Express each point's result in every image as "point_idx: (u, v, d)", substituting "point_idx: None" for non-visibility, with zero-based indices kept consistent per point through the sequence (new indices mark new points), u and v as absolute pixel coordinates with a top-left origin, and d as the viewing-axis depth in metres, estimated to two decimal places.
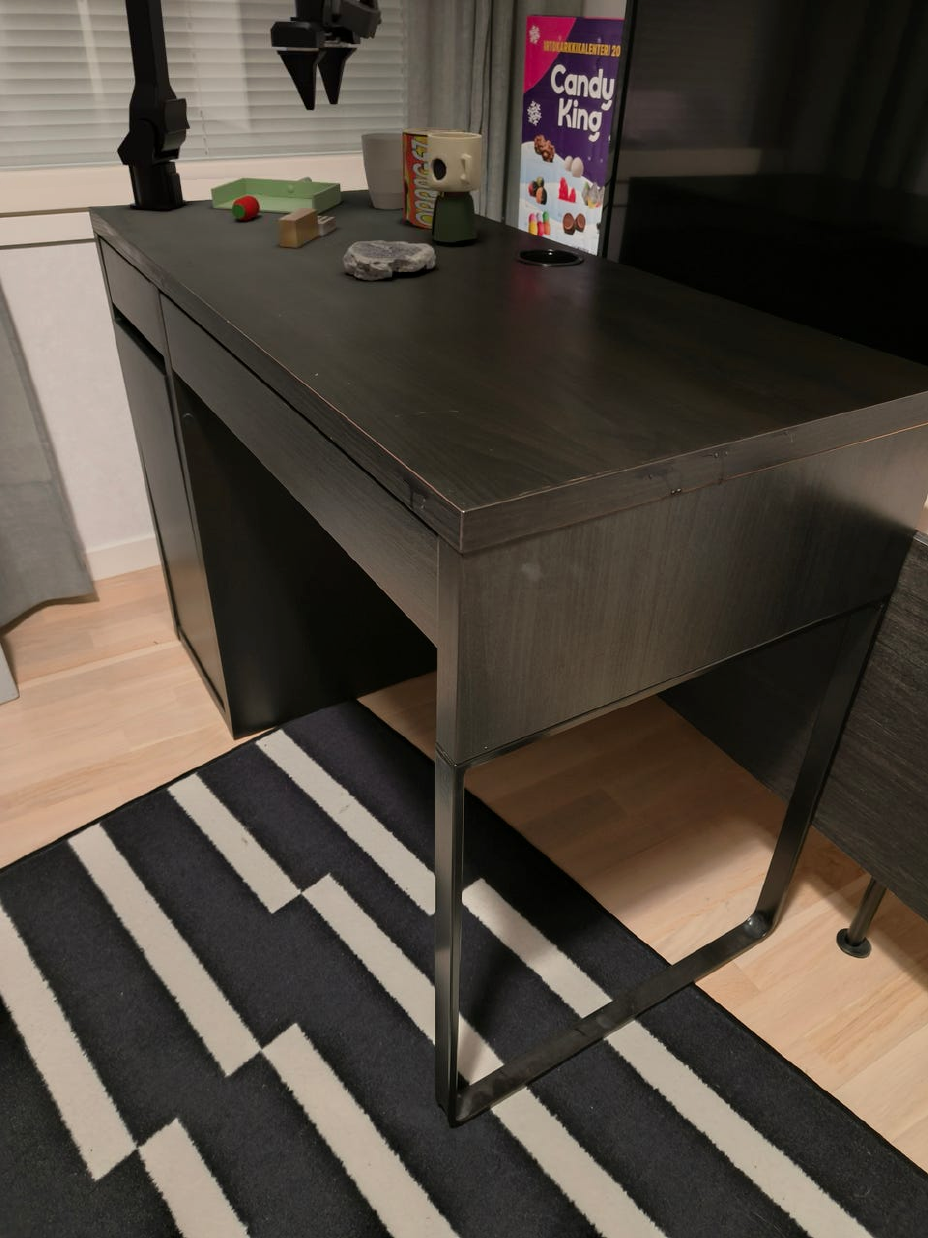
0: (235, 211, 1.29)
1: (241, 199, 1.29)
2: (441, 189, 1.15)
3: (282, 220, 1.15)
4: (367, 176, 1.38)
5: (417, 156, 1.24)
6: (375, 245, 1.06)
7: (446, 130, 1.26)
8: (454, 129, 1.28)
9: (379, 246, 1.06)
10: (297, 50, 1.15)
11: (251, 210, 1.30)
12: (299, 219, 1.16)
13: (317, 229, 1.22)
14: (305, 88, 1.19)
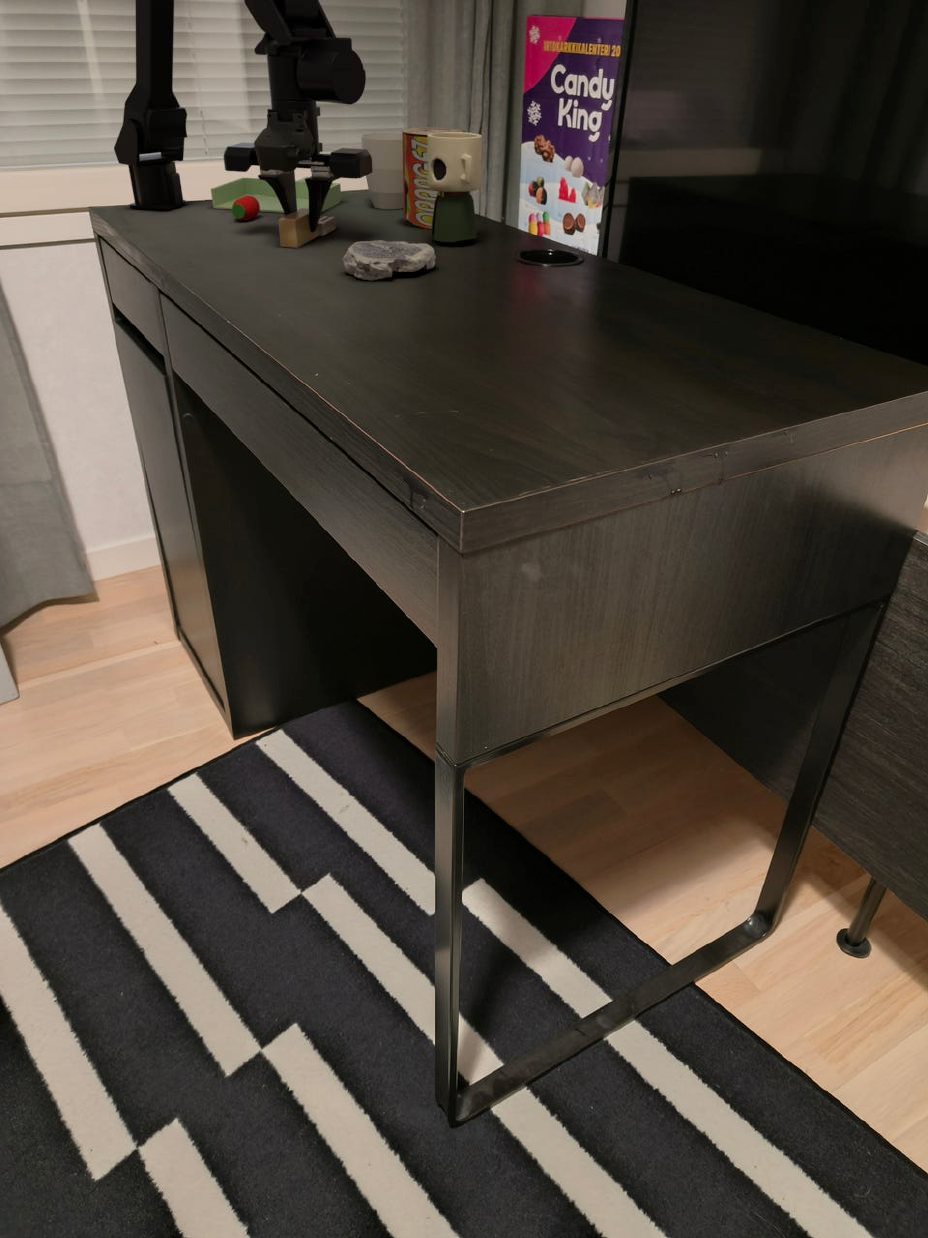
0: (235, 211, 1.29)
1: (241, 199, 1.29)
2: (441, 189, 1.15)
3: (282, 220, 1.15)
4: (367, 176, 1.38)
5: (417, 156, 1.24)
6: (375, 245, 1.06)
7: (446, 130, 1.26)
8: (454, 129, 1.28)
9: (379, 246, 1.06)
10: None
11: (251, 210, 1.30)
12: (299, 219, 1.16)
13: (317, 229, 1.22)
14: None
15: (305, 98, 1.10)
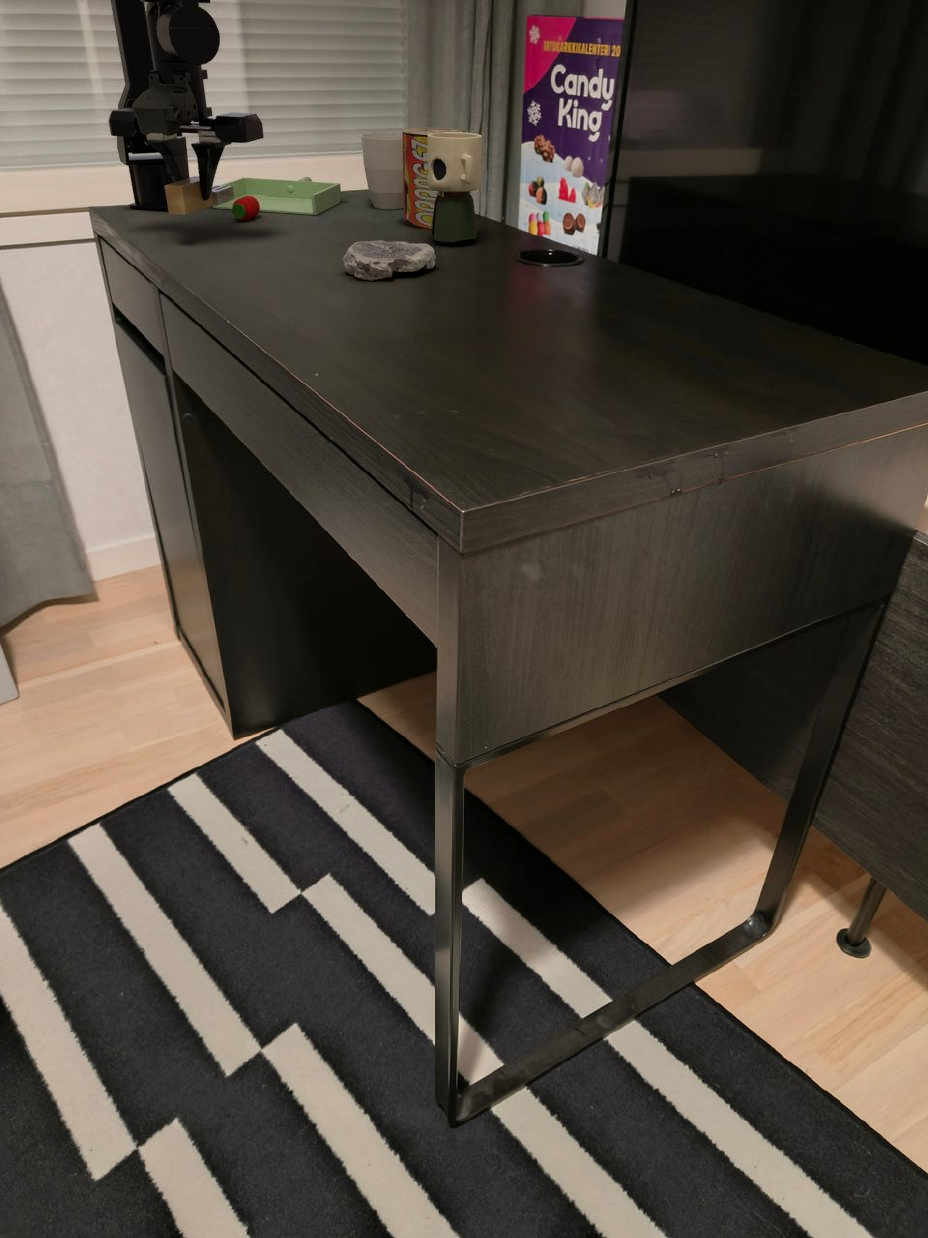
0: (235, 211, 1.29)
1: (241, 199, 1.29)
2: (441, 189, 1.15)
3: (169, 186, 1.12)
4: (367, 176, 1.38)
5: (417, 156, 1.24)
6: (375, 245, 1.06)
7: (446, 130, 1.26)
8: (454, 129, 1.28)
9: (379, 246, 1.06)
10: None
11: (251, 210, 1.30)
12: (187, 186, 1.13)
13: (211, 198, 1.19)
14: None
15: (178, 59, 1.06)
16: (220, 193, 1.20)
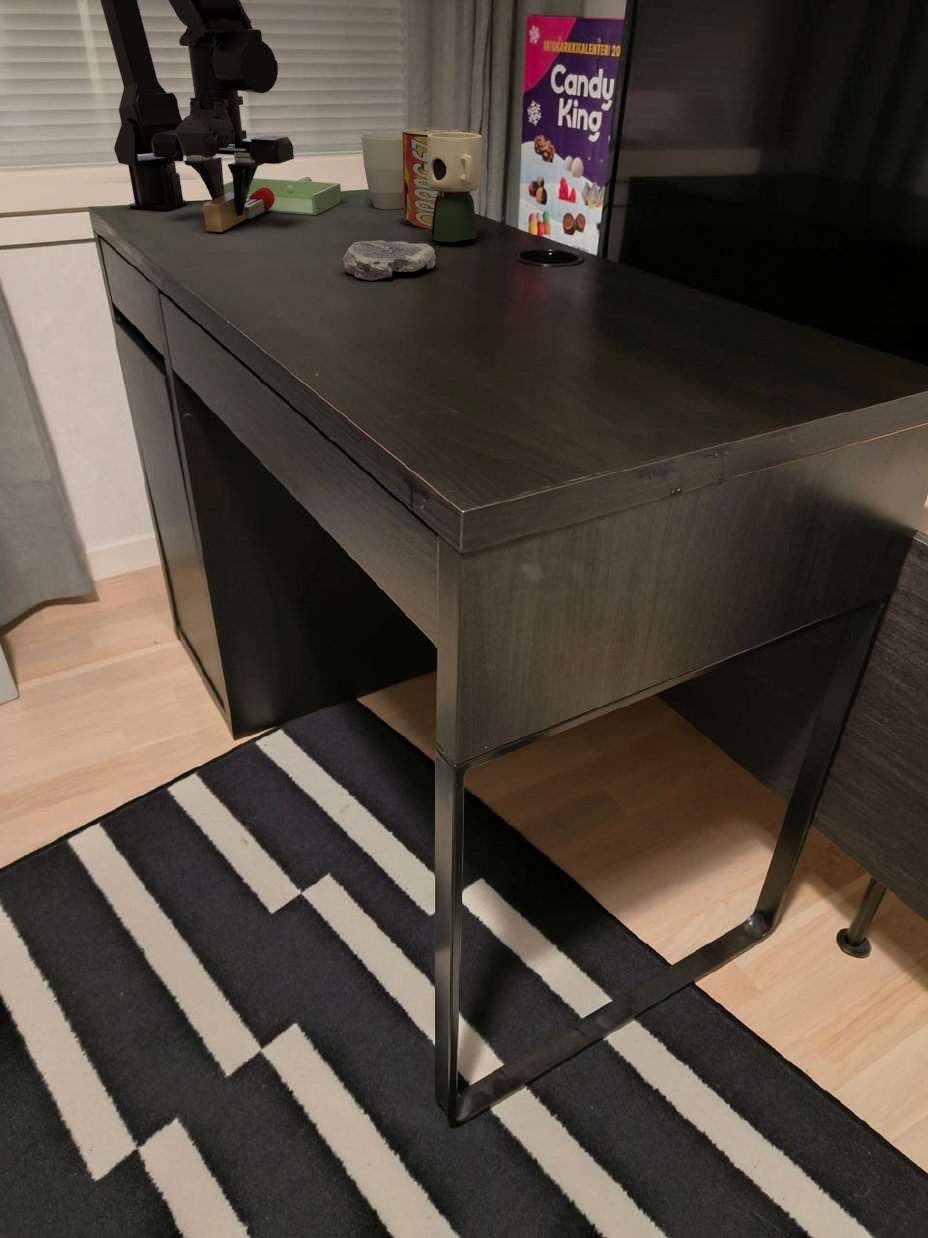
0: None
1: (256, 194, 1.33)
2: (441, 189, 1.15)
3: (206, 205, 1.21)
4: (367, 176, 1.38)
5: (417, 156, 1.24)
6: (375, 245, 1.06)
7: (446, 130, 1.26)
8: (454, 129, 1.28)
9: (379, 246, 1.06)
10: None
11: (267, 204, 1.34)
12: (223, 204, 1.22)
13: (244, 212, 1.28)
14: None
15: (224, 87, 1.16)
16: (252, 208, 1.29)
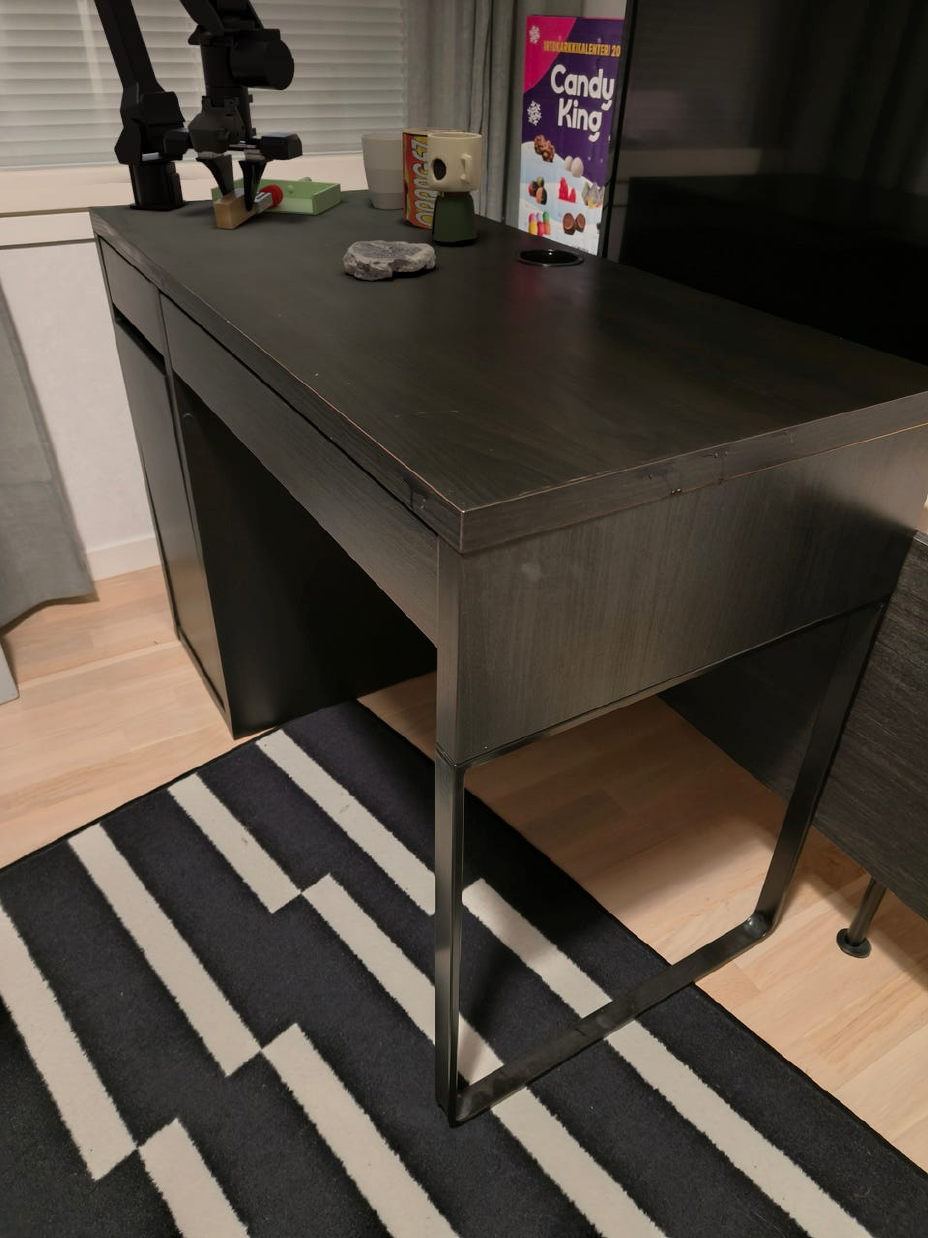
0: None
1: (266, 188, 1.35)
2: (441, 189, 1.15)
3: (217, 203, 1.24)
4: (367, 176, 1.38)
5: (417, 156, 1.24)
6: (375, 245, 1.06)
7: (446, 130, 1.26)
8: (454, 129, 1.28)
9: (379, 246, 1.06)
10: None
11: (275, 198, 1.36)
12: (233, 202, 1.25)
13: (253, 207, 1.31)
14: None
15: (238, 85, 1.19)
16: (261, 202, 1.32)
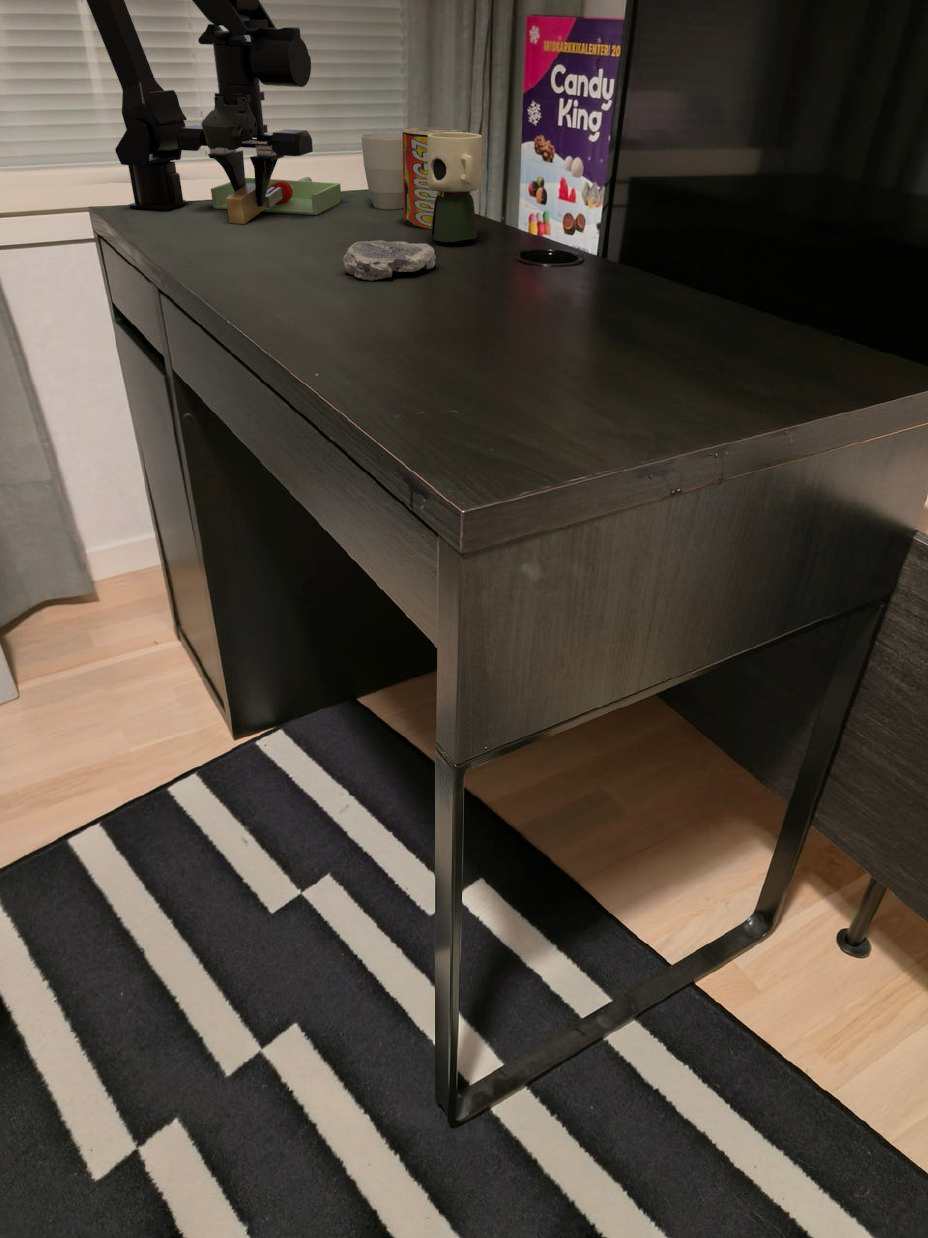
0: None
1: (276, 184, 1.38)
2: (441, 189, 1.15)
3: (229, 199, 1.27)
4: (367, 176, 1.38)
5: (417, 156, 1.24)
6: (375, 245, 1.06)
7: (446, 130, 1.26)
8: (454, 129, 1.28)
9: (379, 246, 1.06)
10: None
11: (285, 194, 1.39)
12: (245, 197, 1.28)
13: (264, 202, 1.34)
14: None
15: (253, 83, 1.22)
16: (271, 197, 1.34)
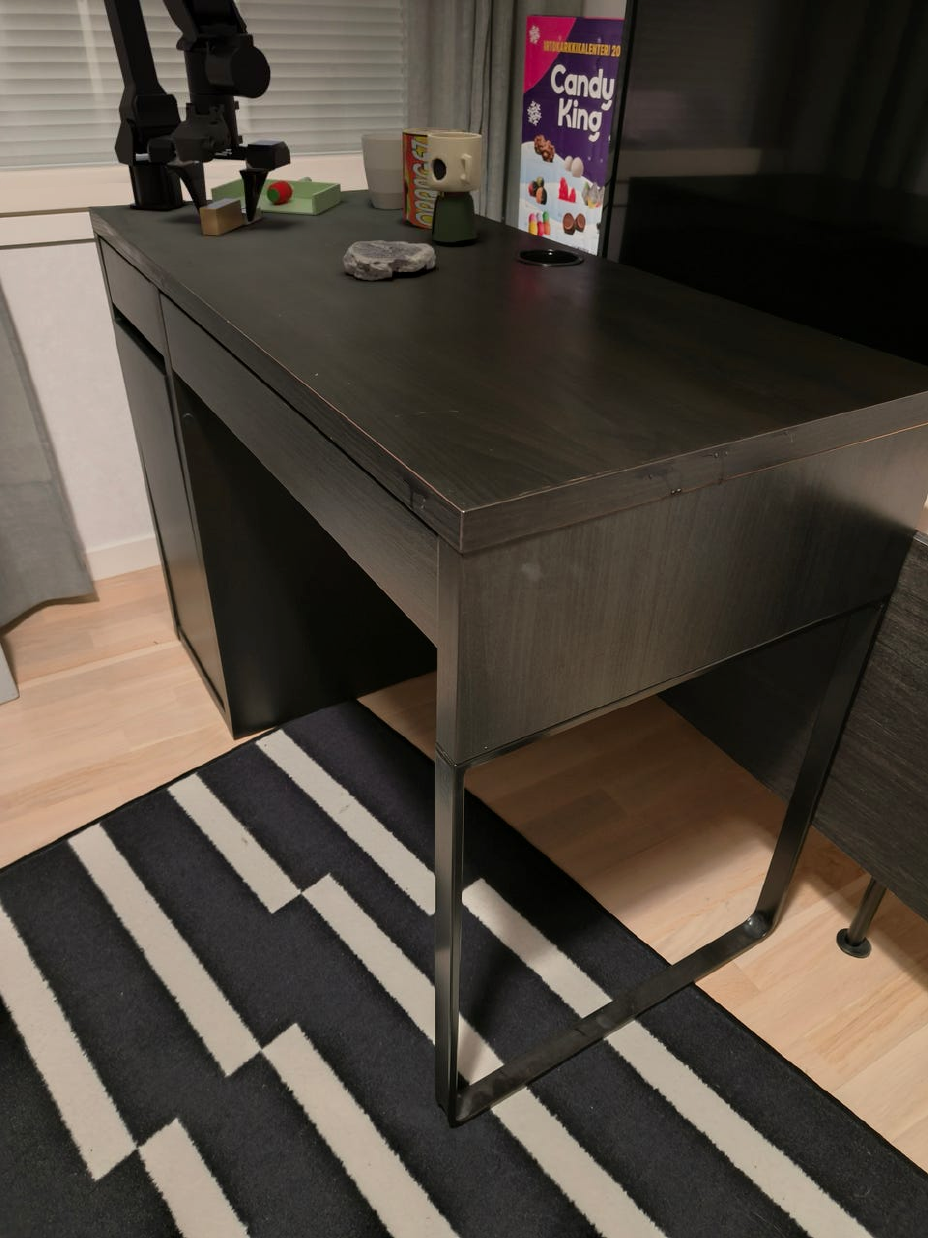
0: (270, 195, 1.38)
1: (275, 184, 1.38)
2: (441, 189, 1.15)
3: (203, 209, 1.21)
4: (367, 176, 1.38)
5: (417, 156, 1.24)
6: (375, 245, 1.06)
7: (446, 130, 1.26)
8: (454, 129, 1.28)
9: (379, 246, 1.06)
10: None
11: (284, 194, 1.39)
12: (220, 208, 1.21)
13: (241, 218, 1.28)
14: None
15: (219, 92, 1.15)
16: None
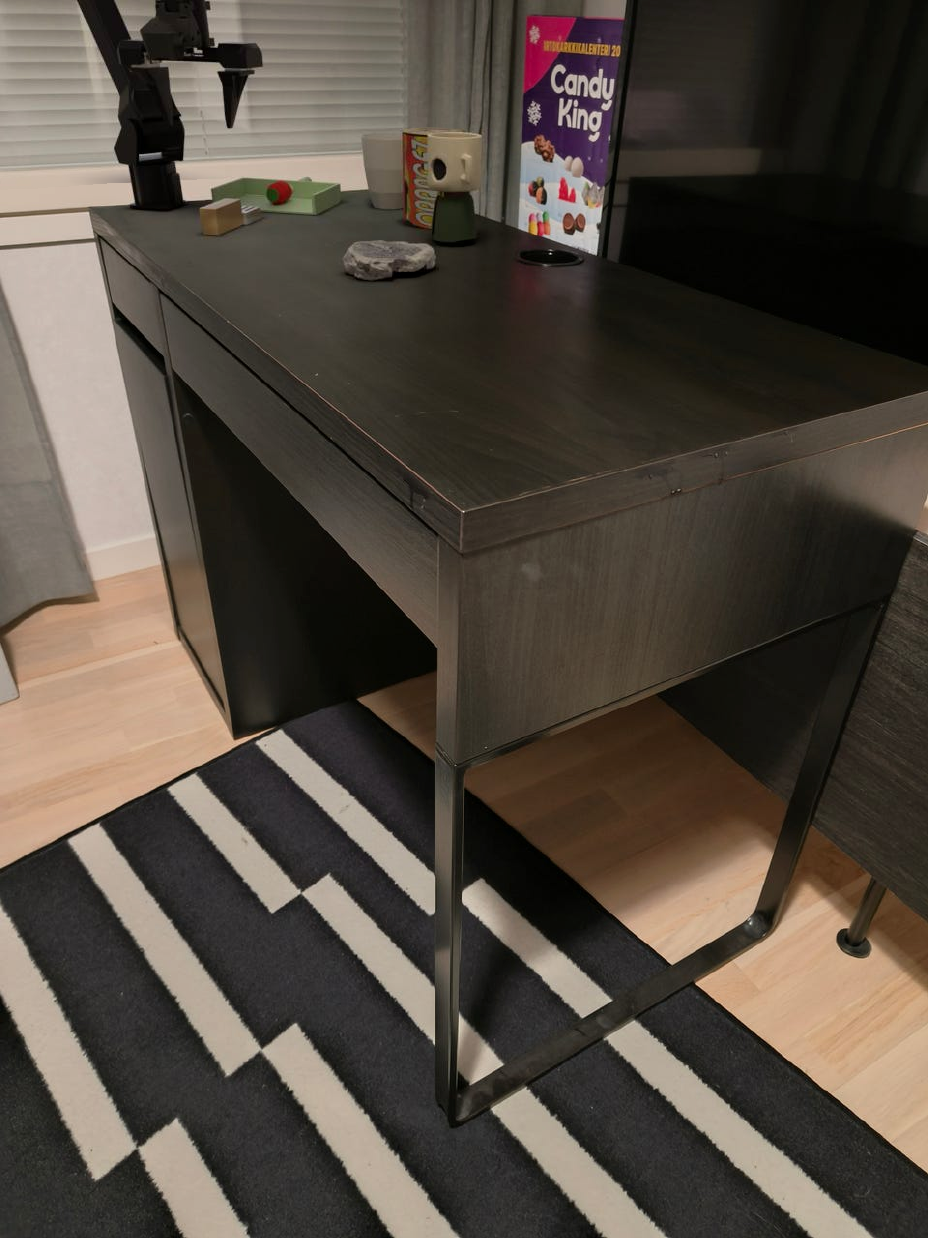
0: (269, 195, 1.38)
1: (274, 184, 1.39)
2: (441, 189, 1.15)
3: (203, 209, 1.21)
4: (367, 176, 1.38)
5: (417, 156, 1.24)
6: (375, 245, 1.06)
7: (446, 130, 1.26)
8: (454, 129, 1.28)
9: (379, 246, 1.06)
10: None
11: (284, 193, 1.39)
12: (220, 208, 1.21)
13: (241, 218, 1.28)
14: None
15: None
16: (249, 214, 1.29)
